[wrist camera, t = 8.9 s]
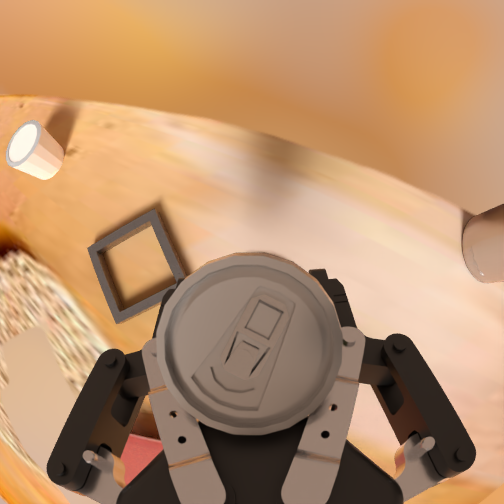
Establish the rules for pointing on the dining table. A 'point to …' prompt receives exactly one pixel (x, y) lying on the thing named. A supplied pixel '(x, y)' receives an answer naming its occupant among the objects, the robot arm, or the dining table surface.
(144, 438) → the plant saucer
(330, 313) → the beer can
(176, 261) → the collar
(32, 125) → the white tapered cylinder
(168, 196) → the dining table surface
